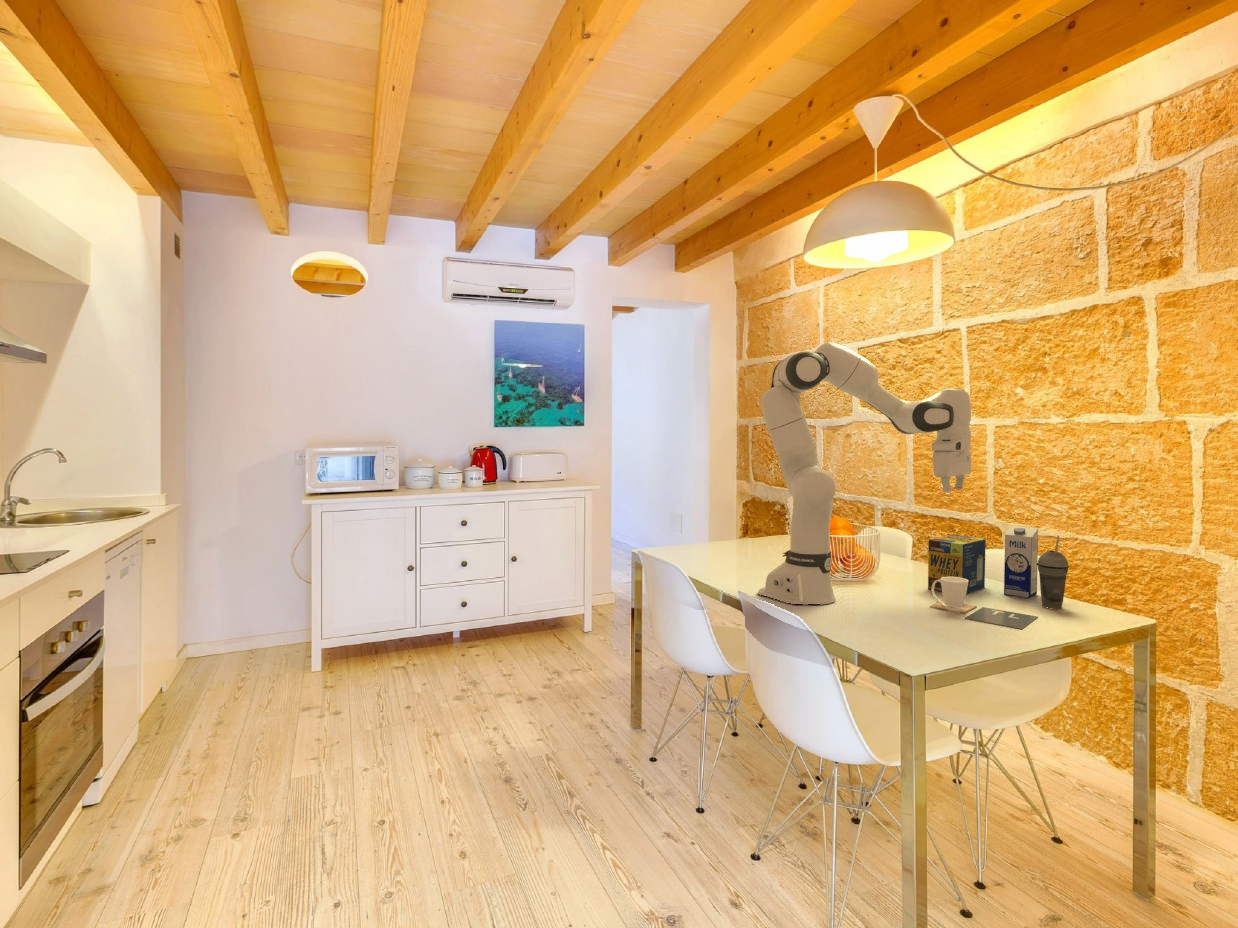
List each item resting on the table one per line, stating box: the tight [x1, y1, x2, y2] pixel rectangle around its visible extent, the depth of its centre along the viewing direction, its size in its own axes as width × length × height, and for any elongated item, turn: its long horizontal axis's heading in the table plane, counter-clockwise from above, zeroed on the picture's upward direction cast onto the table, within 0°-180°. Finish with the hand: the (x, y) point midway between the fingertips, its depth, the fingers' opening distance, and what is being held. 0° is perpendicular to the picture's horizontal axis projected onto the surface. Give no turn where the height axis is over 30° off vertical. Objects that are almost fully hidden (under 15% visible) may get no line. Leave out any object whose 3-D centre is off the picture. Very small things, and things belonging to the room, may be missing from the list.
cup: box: [930, 577, 969, 611], centre depth 176 cm, size 7×10×8 cm
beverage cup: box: [1037, 535, 1070, 610], centre depth 177 cm, size 7×7×20 cm
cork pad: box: [929, 599, 977, 615], centre depth 178 cm, size 9×9×1 cm
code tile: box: [964, 606, 1039, 630], centre depth 168 cm, size 13×14×1 cm
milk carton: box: [1003, 525, 1040, 599], centre depth 190 cm, size 7×7×20 cm
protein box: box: [927, 534, 987, 595], centre depth 199 cm, size 10×15×16 cm
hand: (953, 491), depth 189 cm, fingers open, 8 cm apart
